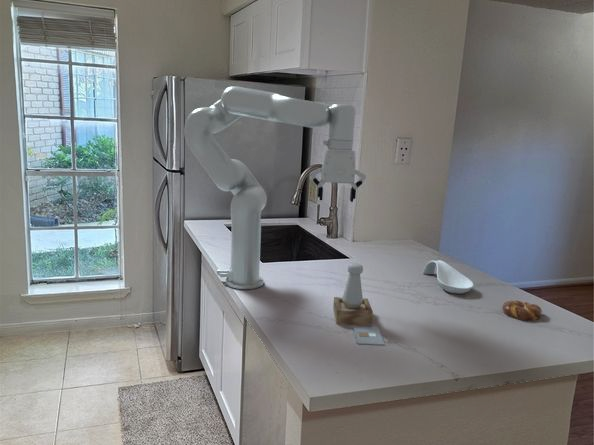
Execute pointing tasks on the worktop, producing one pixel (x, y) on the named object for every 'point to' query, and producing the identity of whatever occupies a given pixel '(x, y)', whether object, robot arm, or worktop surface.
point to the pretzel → (522, 310)
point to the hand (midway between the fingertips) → (336, 200)
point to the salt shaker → (353, 287)
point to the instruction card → (368, 335)
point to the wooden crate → (352, 313)
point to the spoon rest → (449, 277)
